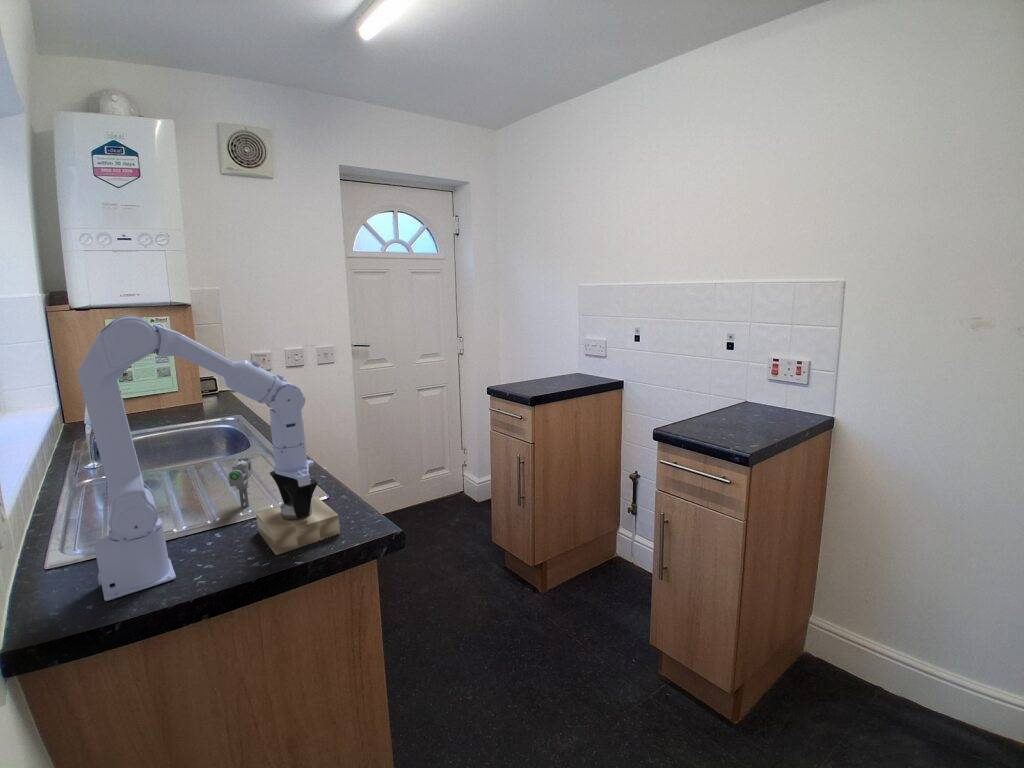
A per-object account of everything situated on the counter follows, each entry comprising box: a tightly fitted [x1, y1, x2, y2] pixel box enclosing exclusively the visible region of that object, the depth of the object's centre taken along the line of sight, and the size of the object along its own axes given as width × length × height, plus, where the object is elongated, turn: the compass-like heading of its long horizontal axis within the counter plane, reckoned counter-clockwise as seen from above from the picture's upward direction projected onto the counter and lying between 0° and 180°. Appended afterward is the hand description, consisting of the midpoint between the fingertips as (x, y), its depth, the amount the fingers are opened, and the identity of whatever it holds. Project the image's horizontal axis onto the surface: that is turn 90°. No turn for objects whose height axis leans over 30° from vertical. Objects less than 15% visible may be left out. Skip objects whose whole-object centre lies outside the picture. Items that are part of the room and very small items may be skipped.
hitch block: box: [255, 496, 341, 556], centre depth 100 cm, size 12×12×4 cm
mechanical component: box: [228, 456, 253, 509], centre depth 113 cm, size 3×10×10 cm, turn 16°
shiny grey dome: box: [279, 501, 312, 521], centre depth 100 cm, size 6×6×6 cm
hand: (296, 509), depth 100 cm, fingers open, 7 cm apart
